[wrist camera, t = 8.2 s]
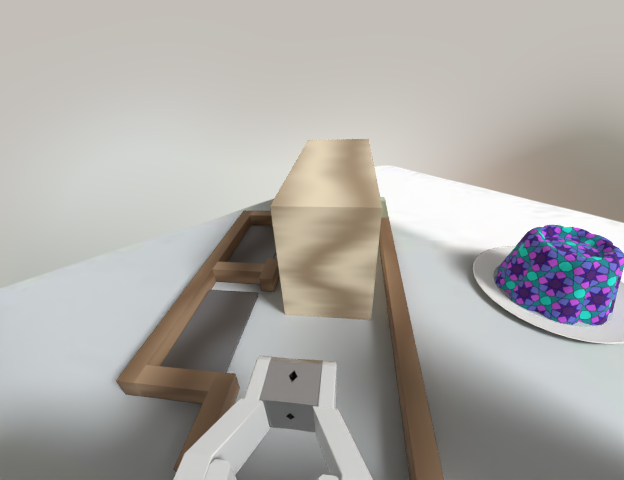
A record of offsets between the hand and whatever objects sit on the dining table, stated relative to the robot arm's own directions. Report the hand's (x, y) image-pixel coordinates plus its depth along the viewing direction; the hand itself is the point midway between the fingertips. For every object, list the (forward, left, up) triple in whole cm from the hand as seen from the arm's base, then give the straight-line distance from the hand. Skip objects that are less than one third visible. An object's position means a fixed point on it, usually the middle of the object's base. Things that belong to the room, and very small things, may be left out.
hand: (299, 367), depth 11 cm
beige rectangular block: (0, +18, -8) cm, 20 cm away
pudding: (+19, +14, -8) cm, 25 cm away
